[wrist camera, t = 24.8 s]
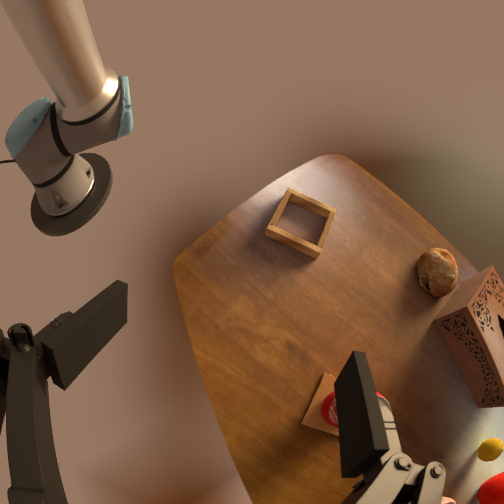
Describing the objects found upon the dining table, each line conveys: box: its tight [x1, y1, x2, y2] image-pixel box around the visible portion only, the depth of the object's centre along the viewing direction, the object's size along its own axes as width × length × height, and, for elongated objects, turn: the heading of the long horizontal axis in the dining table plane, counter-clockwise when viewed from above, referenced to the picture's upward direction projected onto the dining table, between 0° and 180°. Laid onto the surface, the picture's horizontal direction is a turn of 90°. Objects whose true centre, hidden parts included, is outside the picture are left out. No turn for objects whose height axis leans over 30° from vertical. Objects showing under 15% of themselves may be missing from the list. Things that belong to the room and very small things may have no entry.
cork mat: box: [301, 373, 339, 436], centre depth 37 cm, size 9×9×1 cm
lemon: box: [478, 438, 503, 461], centre depth 27 cm, size 6×6×8 cm
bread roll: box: [417, 248, 458, 297], centre depth 46 cm, size 10×10×8 cm
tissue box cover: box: [433, 265, 504, 408], centre depth 37 cm, size 26×14×10 cm, turn 32°
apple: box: [478, 472, 504, 504], centre depth 19 cm, size 12×12×13 cm
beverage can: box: [321, 391, 391, 428], centre depth 31 cm, size 6×6×12 cm
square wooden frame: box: [265, 188, 337, 259], centre depth 49 cm, size 10×10×2 cm
